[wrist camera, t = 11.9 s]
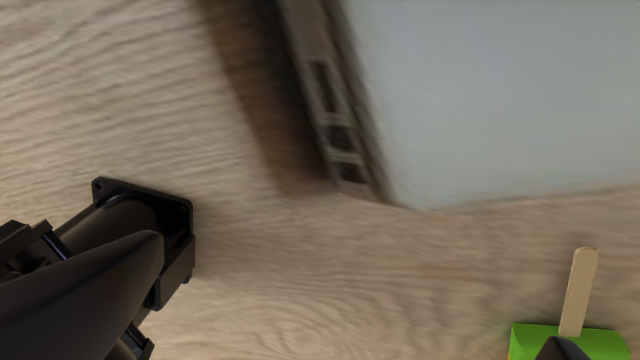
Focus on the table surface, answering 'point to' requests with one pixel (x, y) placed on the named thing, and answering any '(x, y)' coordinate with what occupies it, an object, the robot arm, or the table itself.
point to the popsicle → (571, 320)
